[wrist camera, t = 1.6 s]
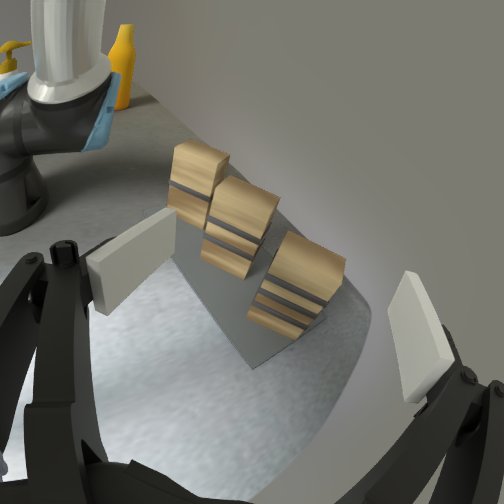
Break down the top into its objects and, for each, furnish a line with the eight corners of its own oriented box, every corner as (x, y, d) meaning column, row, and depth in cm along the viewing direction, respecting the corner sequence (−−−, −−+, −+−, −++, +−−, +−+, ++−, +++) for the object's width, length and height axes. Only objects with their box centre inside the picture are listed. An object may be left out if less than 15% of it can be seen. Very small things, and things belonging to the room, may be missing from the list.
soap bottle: (33, 148, 49) (34, 35, 29) (-2, 160, 42) (-8, 46, 22) (30, 132, 53) (32, 35, 34) (-1, 142, 47) (-3, 44, 27)
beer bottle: (133, 107, 76) (147, 25, 56) (108, 112, 70) (120, 24, 50) (121, 101, 79) (133, 24, 59) (98, 106, 73) (108, 25, 53)
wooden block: (244, 281, 39) (271, 214, 31) (198, 258, 40) (213, 187, 32) (254, 262, 42) (281, 197, 34) (211, 241, 43) (229, 174, 35)
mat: (142, 212, 44) (142, 210, 43) (212, 195, 52) (212, 193, 52) (252, 369, 30) (253, 368, 30) (325, 318, 39) (326, 316, 38)
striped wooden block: (295, 342, 34) (342, 285, 26) (243, 317, 35) (275, 252, 27) (303, 317, 37) (347, 258, 29) (255, 294, 38) (287, 228, 30)
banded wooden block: (203, 231, 44) (218, 164, 36) (165, 212, 44) (173, 146, 36) (215, 217, 47) (231, 154, 39) (179, 200, 48) (189, 138, 39)
